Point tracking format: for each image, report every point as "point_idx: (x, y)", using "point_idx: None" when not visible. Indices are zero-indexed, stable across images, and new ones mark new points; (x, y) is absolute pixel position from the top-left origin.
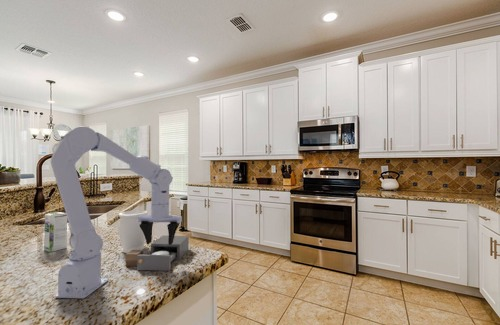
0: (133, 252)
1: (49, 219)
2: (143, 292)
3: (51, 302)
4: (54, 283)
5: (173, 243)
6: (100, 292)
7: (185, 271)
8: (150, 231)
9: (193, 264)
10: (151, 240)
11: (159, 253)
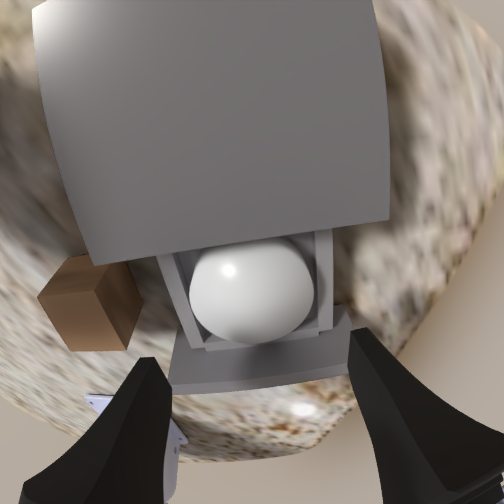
0: (82, 332)
1: None
2: (314, 411)
3: None
4: (50, 399)
5: (316, 206)
6: (197, 426)
7: (411, 295)
8: (131, 451)
9: (434, 223)
10: (149, 366)
11: (241, 297)
